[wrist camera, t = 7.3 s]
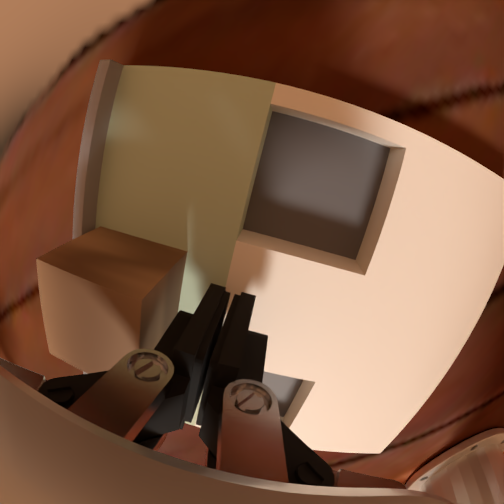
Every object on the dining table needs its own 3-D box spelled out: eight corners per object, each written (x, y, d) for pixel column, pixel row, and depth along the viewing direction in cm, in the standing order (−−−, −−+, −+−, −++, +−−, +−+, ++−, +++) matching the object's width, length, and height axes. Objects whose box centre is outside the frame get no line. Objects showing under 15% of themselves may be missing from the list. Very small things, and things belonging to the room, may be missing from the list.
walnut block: (187, 251, 11) (141, 300, 7) (174, 334, 12) (139, 396, 9) (100, 226, 11) (36, 258, 7) (98, 306, 12) (50, 353, 9)
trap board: (501, 188, 10) (539, 199, 7) (375, 431, 16) (382, 464, 13) (135, 75, 11) (100, 60, 8) (109, 368, 16) (88, 398, 14)
